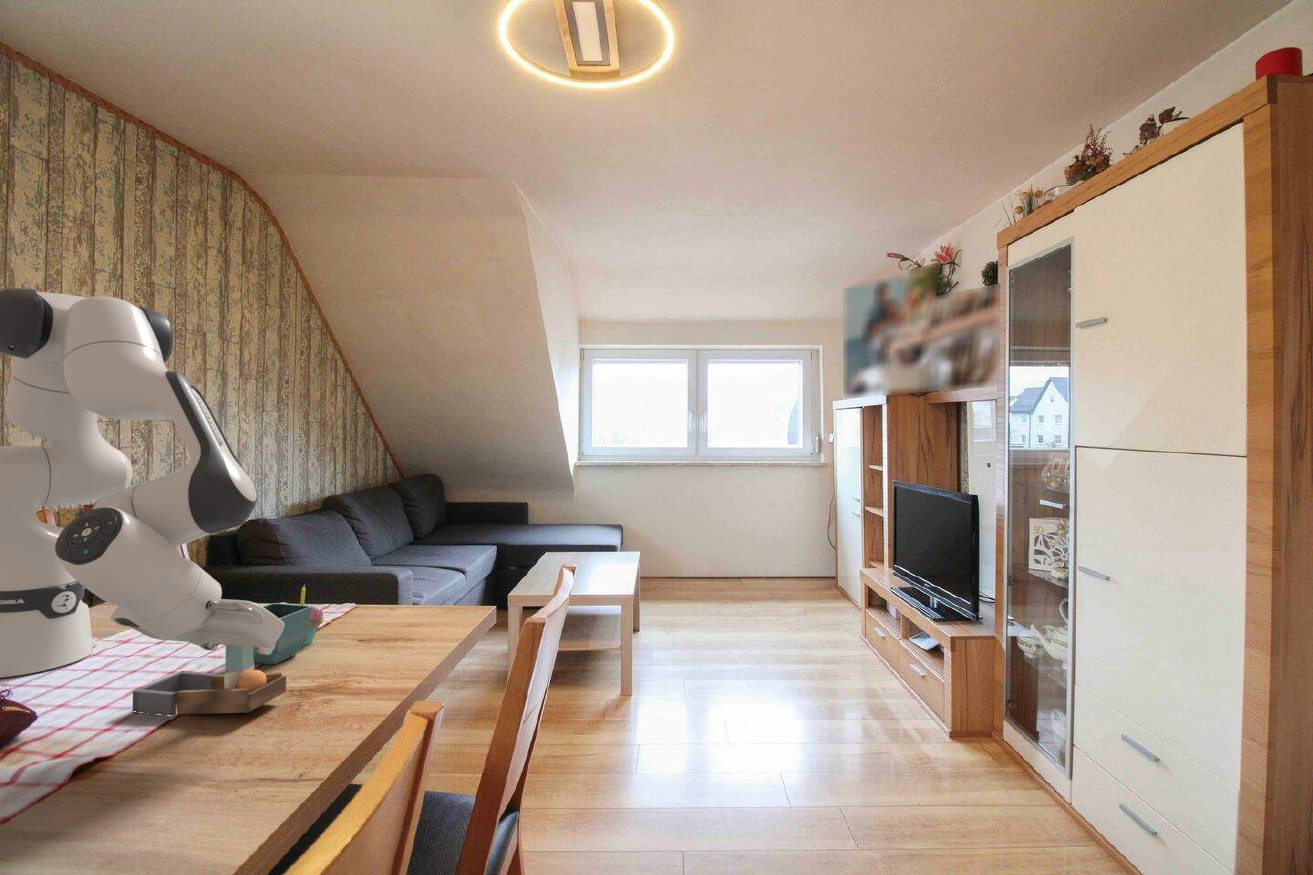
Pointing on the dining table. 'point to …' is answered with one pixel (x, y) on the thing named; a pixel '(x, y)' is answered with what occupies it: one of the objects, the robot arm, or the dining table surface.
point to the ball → (252, 680)
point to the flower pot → (287, 632)
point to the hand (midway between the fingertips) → (241, 647)
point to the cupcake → (312, 620)
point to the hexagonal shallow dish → (229, 696)
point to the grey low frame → (168, 692)
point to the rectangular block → (237, 664)
